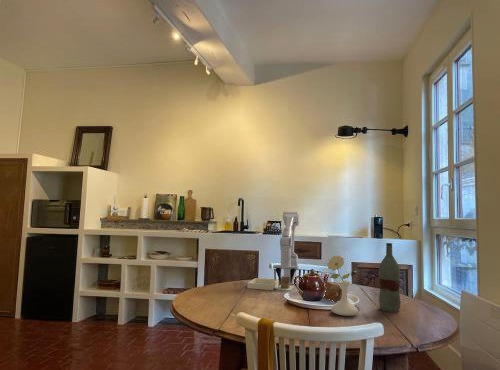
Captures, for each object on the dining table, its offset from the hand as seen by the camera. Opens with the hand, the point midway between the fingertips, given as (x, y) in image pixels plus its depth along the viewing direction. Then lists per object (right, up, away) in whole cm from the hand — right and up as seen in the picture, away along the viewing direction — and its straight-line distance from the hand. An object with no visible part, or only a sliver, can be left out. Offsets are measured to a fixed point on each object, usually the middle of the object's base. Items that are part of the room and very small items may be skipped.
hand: (285, 282), depth 208 cm
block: (0, -3, 0) cm, 3 cm away
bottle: (+43, -2, -42) cm, 60 cm away
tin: (+20, -2, -25) cm, 33 cm away
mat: (0, -4, 0) cm, 3 cm away
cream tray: (-12, -4, +4) cm, 13 cm away
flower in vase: (+20, 0, -51) cm, 55 cm away
